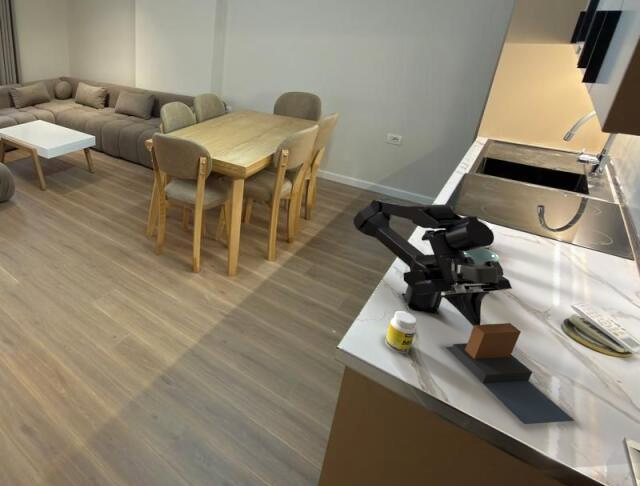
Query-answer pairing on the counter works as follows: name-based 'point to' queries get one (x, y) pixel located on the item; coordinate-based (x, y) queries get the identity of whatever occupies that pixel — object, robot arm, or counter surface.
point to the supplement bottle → (401, 332)
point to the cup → (481, 255)
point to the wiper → (492, 354)
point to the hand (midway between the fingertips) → (476, 326)
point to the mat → (526, 401)
